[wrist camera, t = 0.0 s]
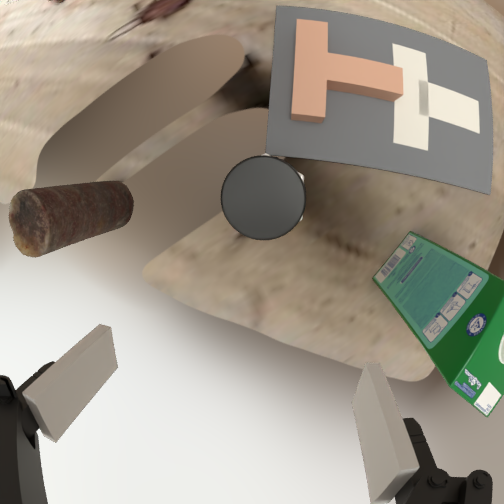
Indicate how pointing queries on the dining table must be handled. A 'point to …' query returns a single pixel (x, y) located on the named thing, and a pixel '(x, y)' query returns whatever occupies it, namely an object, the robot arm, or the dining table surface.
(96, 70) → the dining table surface
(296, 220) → the jar
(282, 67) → the mat
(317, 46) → the t block
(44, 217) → the candle
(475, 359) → the milk carton
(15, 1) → the photo frame
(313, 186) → the dining table surface
